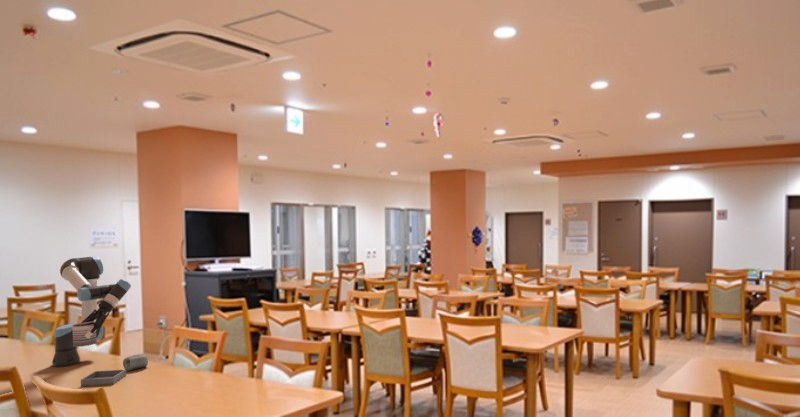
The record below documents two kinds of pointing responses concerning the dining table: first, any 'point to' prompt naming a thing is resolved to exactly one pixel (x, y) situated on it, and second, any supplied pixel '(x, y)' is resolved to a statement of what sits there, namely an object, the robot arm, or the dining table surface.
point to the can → (83, 334)
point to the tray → (103, 377)
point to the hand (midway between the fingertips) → (81, 336)
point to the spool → (135, 362)
